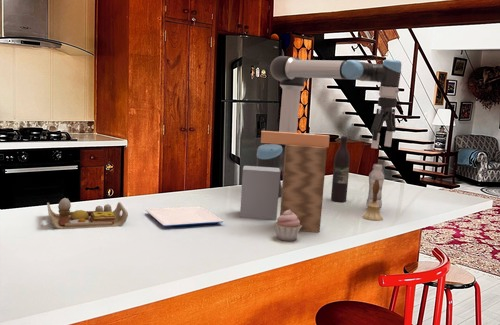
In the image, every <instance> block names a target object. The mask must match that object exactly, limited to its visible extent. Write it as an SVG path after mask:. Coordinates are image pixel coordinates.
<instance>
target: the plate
mask: <svg viewBox="0 0 500 325" xmlns="http://www.w3.org/2000/svg"><path fill="white" fill-rule="evenodd" d="M145 212H146V213H148V214H149V215H150V216H151V217H152V218H154V219H155V220H156V221H157V222H158V223H160V224H161V225H162V226H163V227H178V226H192V225H193V226H194V225H206V224H216V223H217V224H218V223H224V222H225V220H223V219H221V218H220V217H219V216H217V215H215V214H214V213H213V212H210V211H209V210H207V209H206V208H204V207H202V206H198V205H197V206H183V207H181V206H179V207H166V208H165V207H163V208H162V207H160V208H147V209H145Z"/></svg>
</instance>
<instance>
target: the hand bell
mask: <svg viewBox="0 0 500 325" xmlns="http://www.w3.org/2000/svg"><path fill="white" fill-rule="evenodd" d="M378 192H379V180H377V179H376V180H375V182H374V184H373V200H372V203H371V204H369V205H368V208H367V207H366V208H367V209H366V210H365V213H363V215H362V218H363V219H365V220H368V221H378V222H379V221H383V220H384V218H383V216H382V215H381V212H380V210H381V209H379V205H377V204H376V201H377V194H378Z"/></svg>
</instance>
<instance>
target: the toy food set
mask: <svg viewBox="0 0 500 325" xmlns="http://www.w3.org/2000/svg"><path fill="white" fill-rule="evenodd" d="M71 205H72V204H71V201H70V200H69V198H68V197H67V198H66V197H64V198H62V199H60V201H59V202H58V206H57V207H58V213H55V212H54V211H53V210H52V208H51V205H50V202H47V203H46V206H47V211H48V213H47V214H48V219H49V221H50V224H51V225H52V226H53V228H55V229H56V230H74V229H89V228H90V229H92V228H111V227H112V228H113V227H114V228H116V227H121V226H123V225H124V224H126V221H127V219H128V217H129V213H128V211H127V209H126V207H124V205H123V203H121V201H120V202H119V201H118V202H117V204H116V208H115V209H114V210H113V211H112V206H111V204H109V203H107V204H104V206H101V205H97V206H96V207H95V209H94V210H88V211H87V210H83V209H79V210H77V209H76V210H74V211H71V207H72V206H71Z"/></svg>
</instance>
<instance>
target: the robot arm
mask: <svg viewBox="0 0 500 325" xmlns="http://www.w3.org/2000/svg"><path fill="white" fill-rule="evenodd" d="M270 63H271V64H270V66H269V67H270V68H269V70H270V74H271V76H272V78H274V79H275V80H277V81H279V87H281V89H282V94H281V104H280V105H281V106H280V115H279V117H280V118H279V127H278V129H279V130H278V132H289V133H298V120H299V111H300V100H301V91H302V89H305V83H306V82H307V80H308V79H309V78H311V79H336V80H355V81H356V80H357V81H360V82H377V83H379V84H380V86H379V92H378V96H379V97H378V101H377V106H378V107H380V108H377V109H376V113H375V116H374V119H373V122H372V124H371V128H370V132H371V133H372V138H371V146H370V148H371V149H379V143H380V136H381V133H380V131H381V128H383V125H384V124H385V126H386V132H385V137H384V144H383V145H384V147H388V148H391V147H392V140H393V134H394V133H395V132H396V115H395V114H396V109H395V108H397V102H398V99H397V98H398V94H399V92H400V91H399V88H400V80H401V79H400V78H401V73H402V61H401V60H395V59H384V60H383V62H382V63H381V64H380V63H371V62H370V63H369V62H364V61H358V60H355V59H349V60H329V59H328V60H325V59H322V60H320V59H319V60H318V59H317V60H316V59H301V58H299V57H294V56H293V57H292V56H285V55H280V56H277V57H275V58H274V59H273V60H272V61H271V62H270ZM284 156H285V144H271V143H264V144H261V145H259V146H258V148H257V150H256V163H255V166H257V167H272V168H279V169H280V174H281V172H283V169H284ZM281 196H282V182H281V178H280V179H279V193H278V198H281Z"/></svg>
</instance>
